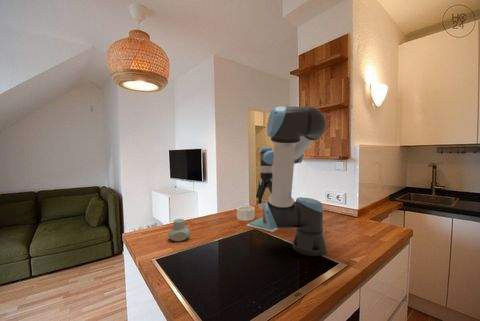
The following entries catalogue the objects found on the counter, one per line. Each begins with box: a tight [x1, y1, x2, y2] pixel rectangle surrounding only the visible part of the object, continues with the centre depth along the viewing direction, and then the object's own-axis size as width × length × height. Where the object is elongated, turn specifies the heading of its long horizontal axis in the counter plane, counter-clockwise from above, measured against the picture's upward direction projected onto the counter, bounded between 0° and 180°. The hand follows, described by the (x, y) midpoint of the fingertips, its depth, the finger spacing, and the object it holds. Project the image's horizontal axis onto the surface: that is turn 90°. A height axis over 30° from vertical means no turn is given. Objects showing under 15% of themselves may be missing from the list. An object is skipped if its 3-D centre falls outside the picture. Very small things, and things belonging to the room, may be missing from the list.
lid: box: [248, 208, 275, 230], centre depth 133 cm, size 16×16×9 cm
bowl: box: [236, 205, 256, 222], centre depth 146 cm, size 12×12×7 cm
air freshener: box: [168, 218, 191, 242], centre depth 113 cm, size 11×8×10 cm
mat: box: [246, 223, 278, 232], centre depth 134 cm, size 19×19×1 cm
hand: (266, 206), depth 133 cm, fingers open, 13 cm apart
